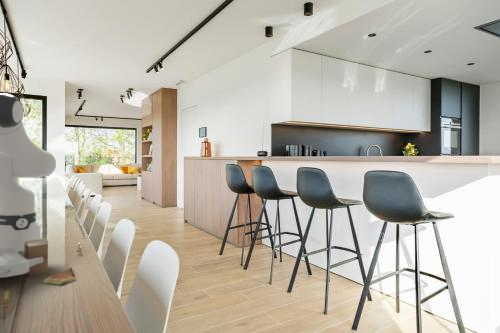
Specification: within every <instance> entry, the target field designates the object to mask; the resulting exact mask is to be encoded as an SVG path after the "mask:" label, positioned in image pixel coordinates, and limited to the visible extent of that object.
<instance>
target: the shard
mask: <svg viewBox="0 0 500 333" xmlns="http://www.w3.org/2000/svg"><path fill="white" fill-rule="evenodd" d="M73 281H76V275H75V272H74V270H73V268H72V267H70V268H68V269H65V270H62V271H59V272H57V273H53V275H50V276H47V277H46V278H44V279H43V283H44V284H50V285H51V284H53V285H57V286H58V285H62V284H65V283H69V282H73Z"/></svg>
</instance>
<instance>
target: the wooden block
mask: <svg viewBox="0 0 500 333" xmlns="http://www.w3.org/2000/svg"><path fill="white" fill-rule="evenodd" d="M48 255H49V240H47V239H46V238H44V237H41V238H39V239H32V240H25V241H24V258H26V259H33V258H35V257H39V256H41V257H43V263H39V264H36V265H34V266H32V267H29V272H28V273H26V275H27V276H29V277H31V276H36V275H40V274H46V273H48V272H49V268H48V266H49V265H48V264H49V261H48V260H49V256H48Z"/></svg>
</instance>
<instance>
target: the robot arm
mask: <svg viewBox="0 0 500 333" xmlns="http://www.w3.org/2000/svg"><path fill="white" fill-rule="evenodd" d="M23 117H24V107H23V104H22V101H21V100H20V99H19V98H18V97H16V96H15V95H12V94H10V93H5V92H3V93H0V279H1V278H9V277H15V276H20V275H25V274H26V273H28V272H29V267H32V266H34V265H36V264H39V263H43V257H41V256H39V257H35V258H33V259H26V258H24V241H25V240H32V239H39V238H42V237H41V236H42V235H41V234H42V233H41V226H40V225H39V224H38V223H37V222H36V221H37V215H36V213H37V212H36V211H35V210H36V209H35V206H36V204H35V203H36V202H35V198H36V197H35V193H34V191H33V190H32V189H30V188H28V187H25V186H23V185H22V184H20V182H19V181H18V179H29V178H30V179H37V178H43V177H45V178H46V177H49V176H51V175H52V174H53V173H54V171H55V170H56V166H57V161H56V158H55V156H54V155H53V154H52V153H51V152H50V151H47V150H44V149H43V148H41V147H40V146H38V145H37V144H36V143H34V142H33V141H32V139H30V137H29V136H28V134H27V132H26V130H25V127H24V123H23ZM26 275H27V274H26Z"/></svg>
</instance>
